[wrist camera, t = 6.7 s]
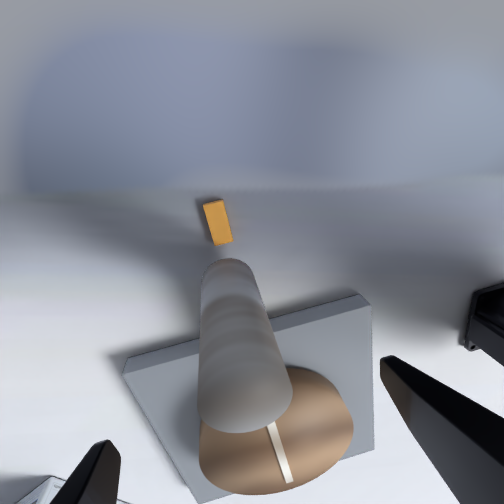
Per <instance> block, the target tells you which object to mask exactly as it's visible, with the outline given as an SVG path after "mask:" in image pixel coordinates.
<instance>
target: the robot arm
mask: <svg viewBox="0 0 504 504" xmlns="http://www.w3.org/2000/svg"><path fill="white" fill-rule="evenodd" d="M464 347H465V348H466V349H467V350H468V351H475V350H478V349H482V350H483V351H484V352H485V353H487V354H488V355H489V356H491V357H492V358H493V359H495V360H496V361H497V362H499V363H500V364H501V365H503V366H504V283H503V284H500V285H496V286H493V287H489V288H486V289H482V290H479V291H477V292H475V293H474V295H473V298H472V303H471V309H470V315H469V321H468V326H467V332H466V338H465V344H464ZM380 377H381V380H382V382H383V384H384V386H385V388H386V390H387V391H388V393H389V395H390V397H391V398H392V400H393V402H394V404H395V405H396V407H397V409H398V411H399V413H400V414H401V416H402V418H403V420H404V421H405V423H406V425H407V427H408V428H409V430H410V431H411V433H412V434H413V436H414V438H415V439H416V440H417V442H418V443H419V445H420V446H421V448H422V449H423V451H424V452H425V453H426V455H427V456H428V458H429V459H430V461H431V462H432V464H433V465H434V467H435V468H436V469H437V471H438V472H439V474H440V475H441V477H442V478H443V480H444V481H445V482H446V484H447V485H448V487H449V488H450V490H451V491H452V493H453V494H454V496H455V497H456V498H457V500H458V501H459V503H460V504H504V418H503V417H501V416H499V415H497V414H495V413H494V412H492V411H490V410H488V409H487V408H485V407H483V406H481V405H480V404H478V403H476V402H474V401H473V400H471V399H469V398H467V397H466V396H464V395H462V394H460V393H459V392H457V391H455V390H453V389H452V388H450V387H448V386H446V385H445V384H443V383H441V382H439V381H438V380H436V379H434V378H432V377H431V376H429V375H427V374H425V373H424V372H422V371H420V370H418V369H416V368H415V367H413V366H411V365H409V364H408V363H406V362H404V361H402V360H401V359H399V358H397V357H395V356H393V355H390V356H386V357H383V358H381V359H380ZM120 466H121V456H120V453H119V452H118V450H117V449H116V448H115V446H114V445H113V444H112V442H111V441H110V440H104V441H100V442H97V443H95V444H94V445H93V446H92V447H91V448H90V450H89V451H88V452H87V454H86V455H85V456H84V458H83V459H82V460H81V462H80V463H79V464H78V466H77V467H76V468H75V470H74V471H73V473H72V474H71V475H70V477H69V478H68V479H67V481H66V482H65V483H64V485H63V486H62V487H61V489H60V490H59V491H58V493H57V494H56V495H55V497H54V498H53V499H52V501H51V502H50V503H49V504H116V503H117V493H118V484H119V475H120Z"/></svg>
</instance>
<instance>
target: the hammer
mask: <svg viewBox="0 0 504 504" xmlns="http://www.w3.org/2000/svg"><path fill="white" fill-rule="evenodd" d="M197 409H198V413H199V416H200V417H201V423H200V434H199V465H200V469H201V471H202V473H203V475H204V476H205V477H206V479H207V480H208V481H210V482H211V483H212V484H213V485H215V486H216V487H218V488H220V489H222V490H225V491H228V492H231V493H236V494H243V495H266V494H273V493H278V492H282V491H286V490H289V489H293V488H295V487H298V486H301V485H303V484H305V483H307V482H310V481H311V480H313V479H315V478H317V477H318V476H320V475H322V474H323V473H325V472H326V471H327V470H329V469H330V468H331V467H332V466H333V465H334V464H336V463H337V462H338V460H339V459H340V458H341V457H342V456H343V455H344V453H345V452H346V450H347V449H348V447H349V445H350V443H351V440H352V437H353V432H354V424H353V420H352V417H351V415H350V413H349V411H348V409H347V407H346V405H345V403H344V401H343V399H342V397H341V396H340V394H339V392H338V390H337V388H336V387H335V386H334V384H333V383H331V382H330V381H329V380H328V379H327V378H325V377H323V376H322V375H319V374H317V373H315V372H312V371H308V370H303V369H294V368H285V365H284V362H283V359H282V356H281V353H280V350H279V347H278V344H277V341H276V339H275V336H274V333H273V330H272V327H271V324H270V321H269V318H268V315H267V312H266V310H265V307H264V304H263V301H262V298H261V295H260V292H259V289H258V286H257V284H256V281H255V278H254V275H253V272H252V270H251V269H250V267H249V266H248V265H247V264H245V263H244V262H242V261H240V260H237V259H232V258H227V259H221V260H218V261H216V262H214V263H213V264H211V265H210V266H209V267H208V268H207V269H206V271H205V272H204V274H203V277H202V286H201V313H200V340H199V367H198V395H197Z"/></svg>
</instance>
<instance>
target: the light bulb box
mask: <svg viewBox="0 0 504 504" xmlns="http://www.w3.org/2000/svg"><path fill="white" fill-rule="evenodd" d="M65 482H66V481H63V480H60V479H57V478H55V477H50V478H49V479H47V480H46V481H45V482H44V483H42V484H41V485H40V486H38V487H37V488H36V489H34V490H33V491H32V492H31V493H29V494H28V495H27V496H25V497H24V498H23V499H22V500H20V501H19V502H18V503H16V504H49V503H50V502H51V501H52V499H53V498H54V497H55V495H56V494H57V493H58V491H59V490H60V489H61V487H62V486H63V485H64V483H65ZM116 504H127V503H124V502H122V501H119V500H117V503H116Z"/></svg>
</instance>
